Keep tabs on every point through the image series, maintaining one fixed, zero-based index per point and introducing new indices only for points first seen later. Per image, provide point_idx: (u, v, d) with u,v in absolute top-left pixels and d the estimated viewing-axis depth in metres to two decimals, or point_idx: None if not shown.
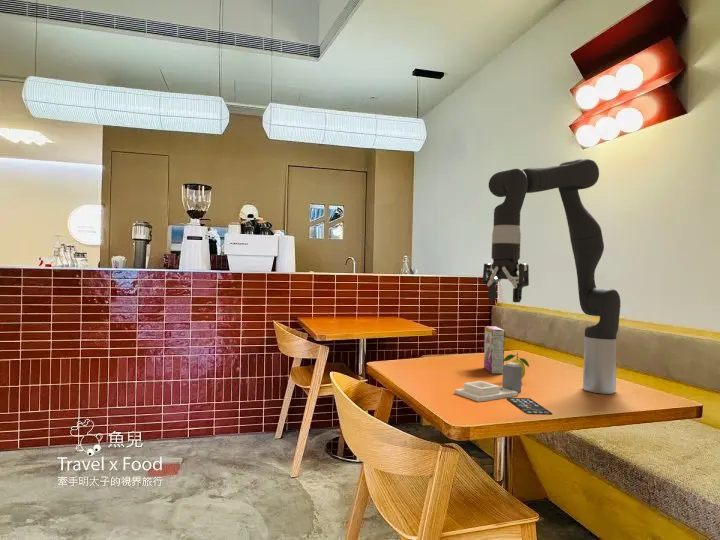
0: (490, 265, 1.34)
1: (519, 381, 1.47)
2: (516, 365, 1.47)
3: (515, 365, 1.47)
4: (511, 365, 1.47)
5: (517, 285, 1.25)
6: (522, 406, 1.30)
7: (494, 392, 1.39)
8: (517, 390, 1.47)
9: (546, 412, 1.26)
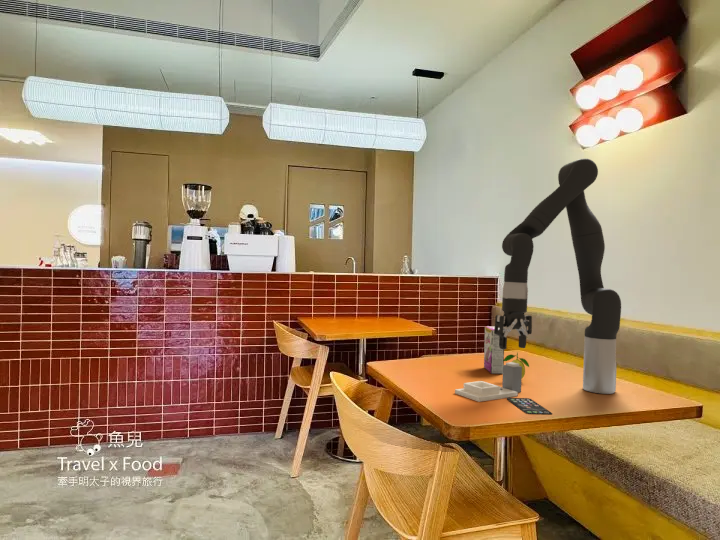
0: None
1: (519, 381, 1.47)
2: (516, 365, 1.47)
3: (515, 365, 1.47)
4: (511, 365, 1.47)
5: None
6: (522, 406, 1.30)
7: (494, 392, 1.39)
8: (517, 390, 1.47)
9: (546, 412, 1.26)
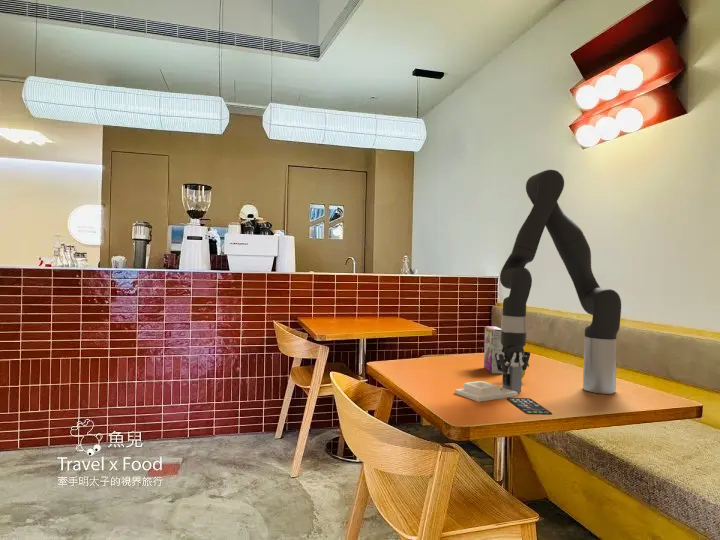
0: (502, 354, 1.46)
1: (519, 381, 1.47)
2: (516, 365, 1.47)
3: (515, 365, 1.47)
4: None
5: None
6: (522, 406, 1.30)
7: (494, 392, 1.39)
8: (517, 390, 1.47)
9: (546, 412, 1.26)
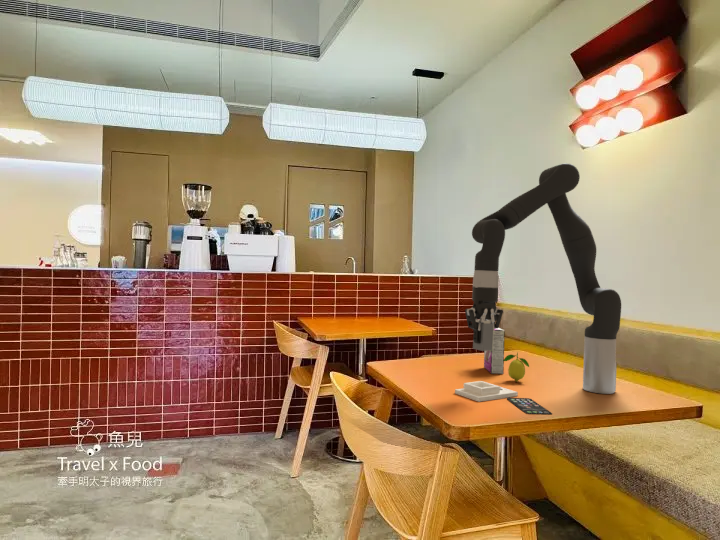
0: (473, 309, 1.39)
1: (490, 339, 1.41)
2: (487, 322, 1.41)
3: (486, 322, 1.41)
4: None
5: None
6: (522, 406, 1.30)
7: (494, 392, 1.39)
8: (488, 348, 1.41)
9: (546, 412, 1.26)
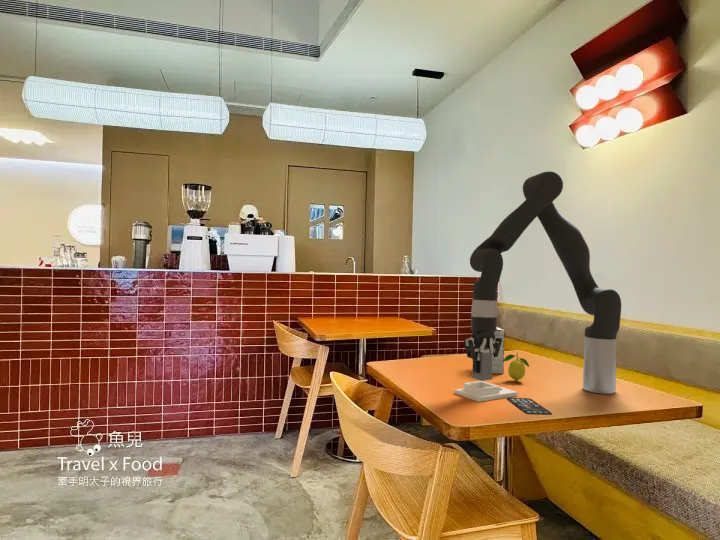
0: (472, 339, 1.39)
1: (489, 368, 1.41)
2: (486, 351, 1.41)
3: (485, 351, 1.41)
4: None
5: None
6: (522, 406, 1.30)
7: (494, 392, 1.39)
8: (487, 377, 1.40)
9: (546, 412, 1.26)
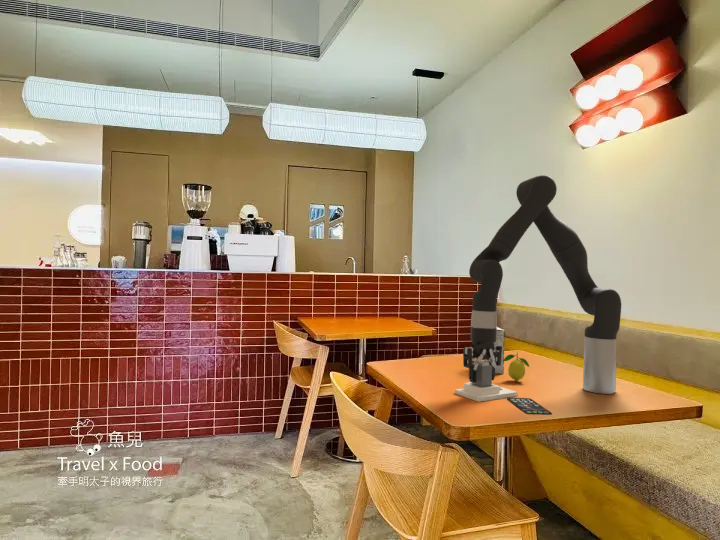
0: (471, 349, 1.39)
1: (489, 381, 1.41)
2: (486, 364, 1.41)
3: (485, 364, 1.40)
4: (481, 364, 1.40)
5: None
6: (522, 406, 1.30)
7: (494, 392, 1.39)
8: None
9: (546, 412, 1.26)
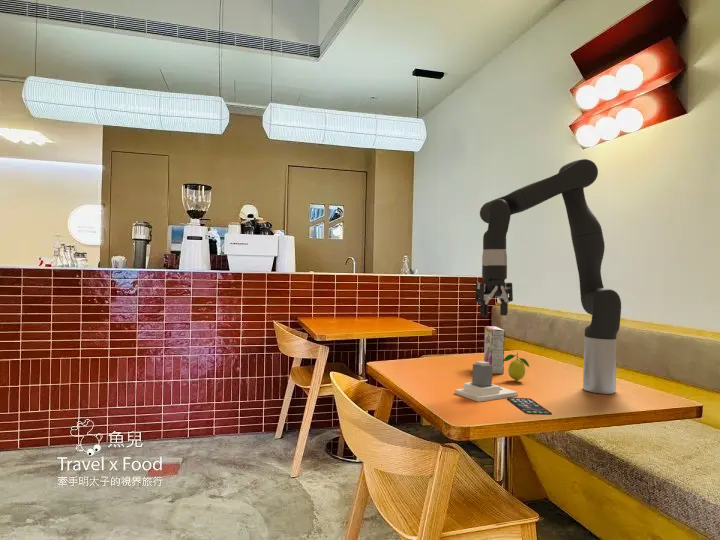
0: (484, 284, 1.45)
1: (489, 381, 1.41)
2: (486, 364, 1.41)
3: (485, 364, 1.40)
4: (481, 364, 1.40)
5: None
6: (522, 406, 1.30)
7: (494, 392, 1.39)
8: None
9: (546, 412, 1.26)
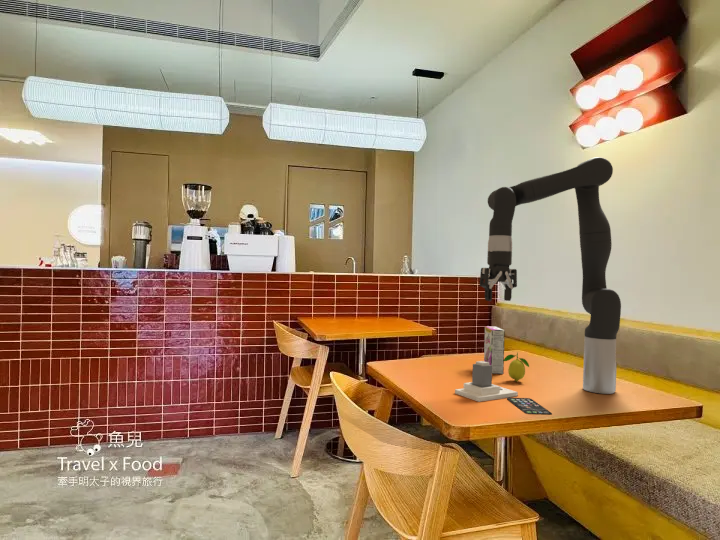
0: (488, 269, 1.49)
1: (489, 381, 1.41)
2: (486, 364, 1.41)
3: (485, 364, 1.40)
4: (481, 364, 1.40)
5: None
6: (522, 406, 1.30)
7: (494, 392, 1.39)
8: None
9: (546, 412, 1.26)
